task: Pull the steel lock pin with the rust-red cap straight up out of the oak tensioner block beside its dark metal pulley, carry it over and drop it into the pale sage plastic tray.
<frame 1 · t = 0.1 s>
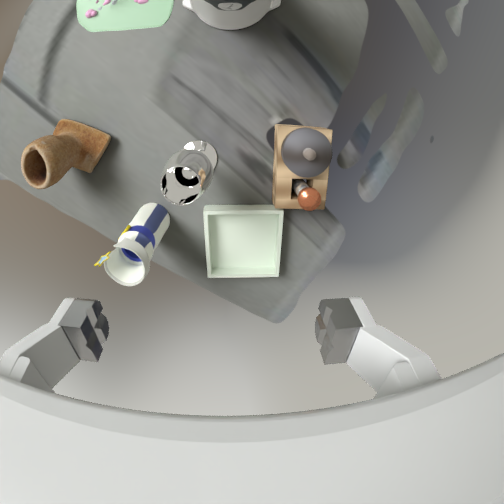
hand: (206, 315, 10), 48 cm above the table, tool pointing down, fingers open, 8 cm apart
brown l-shaped piece: (79, 147, 48), on the table
lock pin: (296, 182, 56), resting in tensioner block
wineglass: (198, 158, 52), on the table
water bottle: (152, 219, 58), on the table
tensioner block: (297, 163, 54), on the table
tray: (242, 238, 62), on the table
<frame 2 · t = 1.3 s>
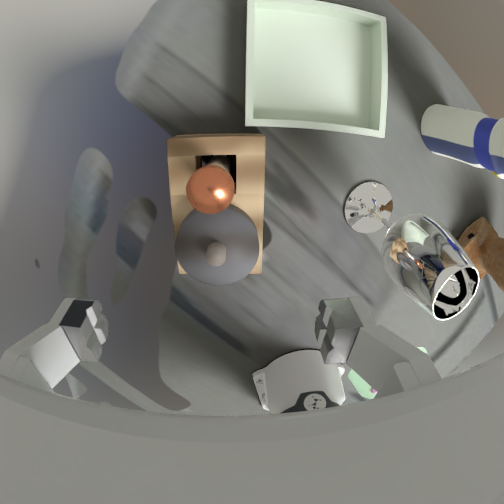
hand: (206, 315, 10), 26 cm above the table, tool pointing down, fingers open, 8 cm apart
brown l-shaped piece: (478, 241, 39), on the table
lock pin: (219, 165, 32), resting in tensioner block
wineglass: (368, 207, 36), on the table
water bottle: (440, 129, 30), on the table
tensioner block: (220, 197, 34), on the table
tray: (314, 65, 26), on the table
plant: (385, 369, 55), on the table
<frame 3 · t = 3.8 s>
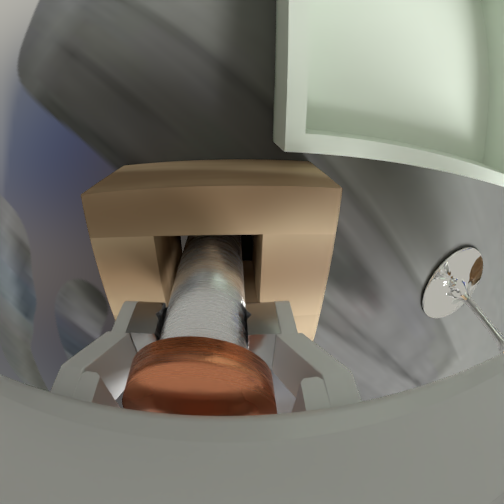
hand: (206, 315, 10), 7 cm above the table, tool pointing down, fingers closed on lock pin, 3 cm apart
lock pin: (215, 229, 16), resting in tensioner block, touching gripper
wineglass: (452, 282, 20), on the table
tensioner block: (218, 286, 18), on the table
tray: (410, 33, 10), on the table
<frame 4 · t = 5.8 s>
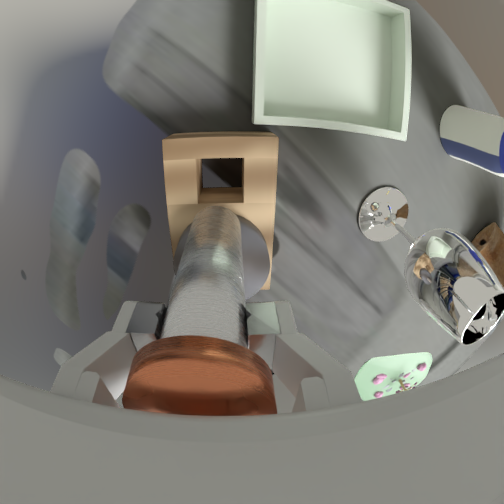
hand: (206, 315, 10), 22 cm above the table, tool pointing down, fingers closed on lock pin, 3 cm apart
brown l-shaped piece: (487, 246, 37), on the table
lock pin: (216, 228, 16), point 15 cm above the table, touching gripper
wineglass: (383, 213, 32), on the table
water bottle: (458, 131, 27), on the table
tensioner block: (222, 203, 30), on the table
tray: (330, 57, 22), on the table
plant: (389, 374, 54), on the table
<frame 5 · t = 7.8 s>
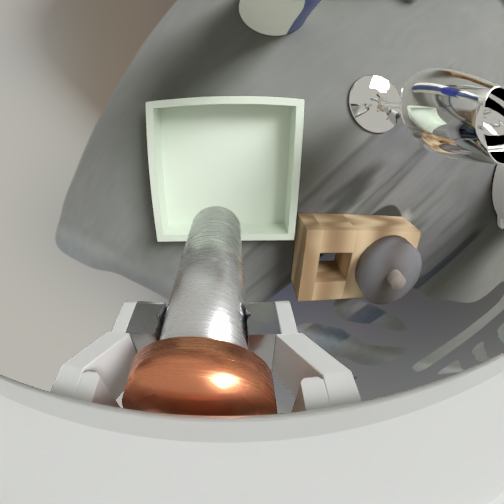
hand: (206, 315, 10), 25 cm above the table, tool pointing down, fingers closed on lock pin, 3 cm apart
lock pin: (216, 229, 16), point 18 cm above the table, touching gripper
wineglass: (375, 103, 28), on the table
water bottle: (272, 7, 22), on the table
tensioner block: (349, 247, 37), on the table
tray: (224, 165, 31), on the table
when the fingers open (10 cm above the table, at t = 10.6 s): lock pin drops 1 cm, point 1 cm above the table.
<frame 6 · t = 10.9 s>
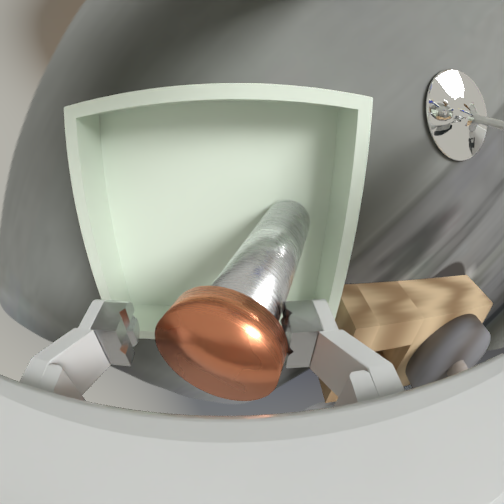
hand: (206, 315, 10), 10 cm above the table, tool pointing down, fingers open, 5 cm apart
lock pin: (288, 221, 17), point 1 cm above the table, tilted 21°, touching gripper
wineglass: (457, 114, 15), on the table
tensioner block: (396, 320, 24), on the table
tray: (217, 213, 18), on the table
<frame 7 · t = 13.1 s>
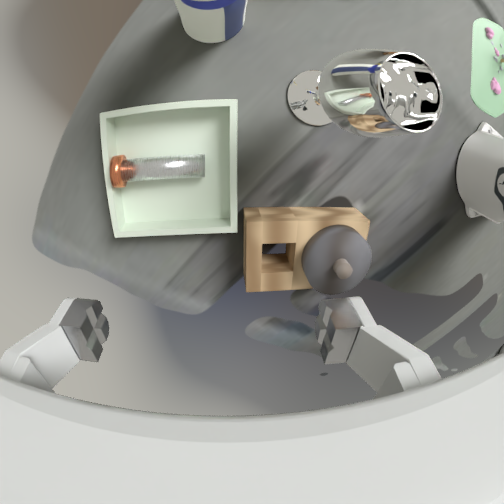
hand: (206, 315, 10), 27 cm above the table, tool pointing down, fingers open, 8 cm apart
lock pin: (205, 165, 31), point 2 cm above the table, tilted 87°, touching tray
wineglass: (315, 97, 30), on the table
water bottle: (212, 16, 24), on the table
tensioner block: (299, 240, 40), on the table
tray: (172, 165, 33), on the table
plant: (494, 70, 27), on the table
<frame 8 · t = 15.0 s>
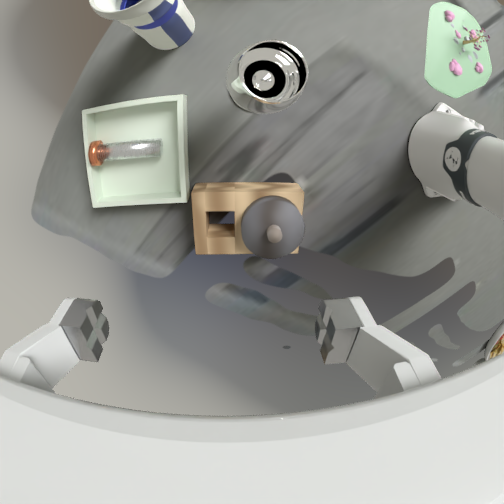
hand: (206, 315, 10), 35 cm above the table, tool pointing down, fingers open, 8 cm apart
lock pin: (161, 147, 37), point 2 cm above the table, tilted 87°, touching tray
wineglass: (255, 87, 35), on the table
water bottle: (169, 27, 29), on the table
tensioner block: (246, 211, 45), on the table
tray: (138, 149, 39), on the table
plant: (456, 52, 30), on the table
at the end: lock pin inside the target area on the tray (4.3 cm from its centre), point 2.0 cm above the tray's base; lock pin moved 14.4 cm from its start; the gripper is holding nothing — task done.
